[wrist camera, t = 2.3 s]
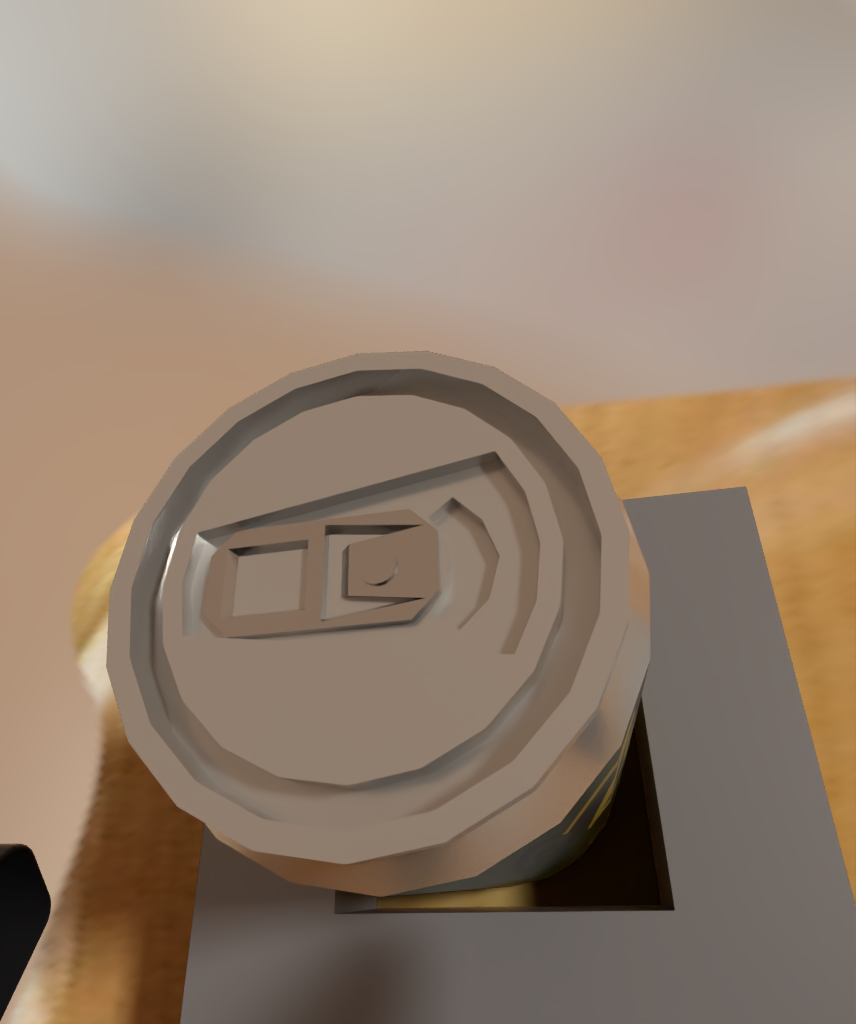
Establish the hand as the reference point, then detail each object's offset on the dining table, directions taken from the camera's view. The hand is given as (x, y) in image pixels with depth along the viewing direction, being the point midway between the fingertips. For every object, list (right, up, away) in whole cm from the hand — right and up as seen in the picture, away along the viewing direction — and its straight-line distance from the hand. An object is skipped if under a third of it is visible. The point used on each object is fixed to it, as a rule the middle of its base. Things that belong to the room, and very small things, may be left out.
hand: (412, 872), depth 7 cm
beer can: (+2, -2, +10) cm, 10 cm away
